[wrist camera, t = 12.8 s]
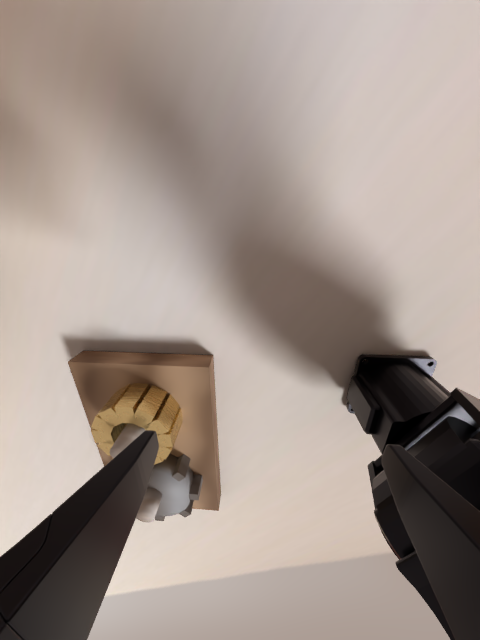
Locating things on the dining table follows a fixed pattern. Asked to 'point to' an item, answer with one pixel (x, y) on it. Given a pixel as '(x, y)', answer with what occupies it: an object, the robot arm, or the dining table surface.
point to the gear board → (175, 383)
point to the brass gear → (139, 417)
